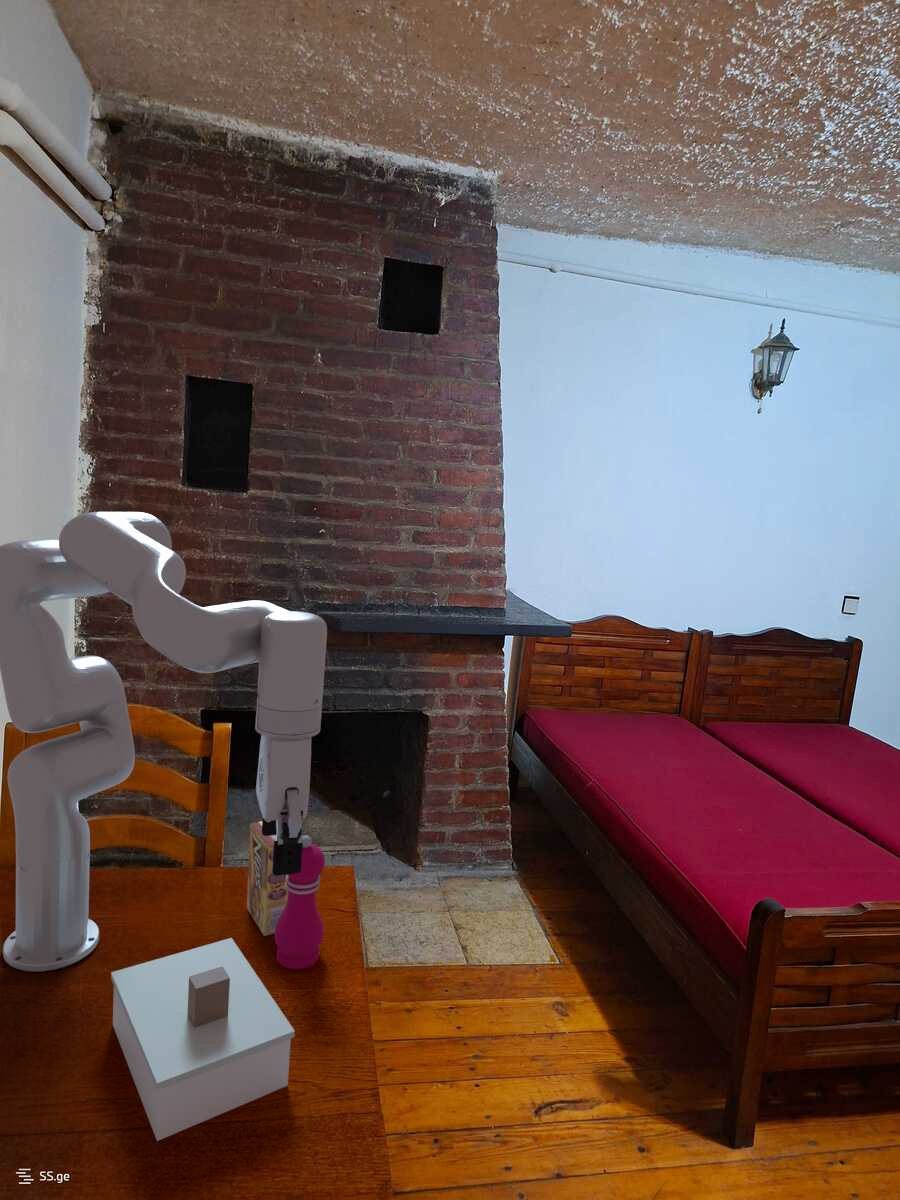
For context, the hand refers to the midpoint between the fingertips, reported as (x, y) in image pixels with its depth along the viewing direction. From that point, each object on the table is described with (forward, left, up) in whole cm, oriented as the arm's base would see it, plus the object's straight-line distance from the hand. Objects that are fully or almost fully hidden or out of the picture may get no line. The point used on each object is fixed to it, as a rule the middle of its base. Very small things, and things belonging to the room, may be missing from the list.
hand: (280, 852), depth 92 cm
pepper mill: (-15, +11, -27) cm, 33 cm away
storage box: (-3, -8, -27) cm, 28 cm away
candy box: (-27, +11, -27) cm, 40 cm away
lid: (-3, -8, -20) cm, 21 cm away
